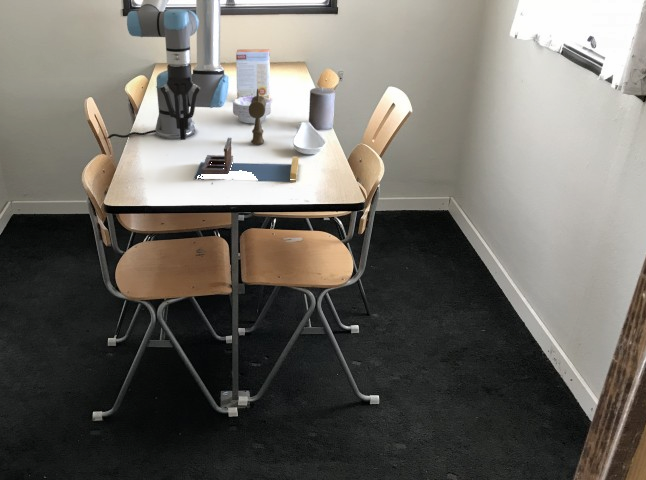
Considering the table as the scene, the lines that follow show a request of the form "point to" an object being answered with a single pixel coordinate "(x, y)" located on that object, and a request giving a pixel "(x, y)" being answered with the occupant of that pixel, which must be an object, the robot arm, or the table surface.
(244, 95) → the cracker box
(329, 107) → the pillar candle
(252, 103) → the kendama
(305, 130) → the spoon rest
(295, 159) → the rail
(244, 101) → the paper bowls
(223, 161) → the rack
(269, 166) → the runner mat
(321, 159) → the table surface
